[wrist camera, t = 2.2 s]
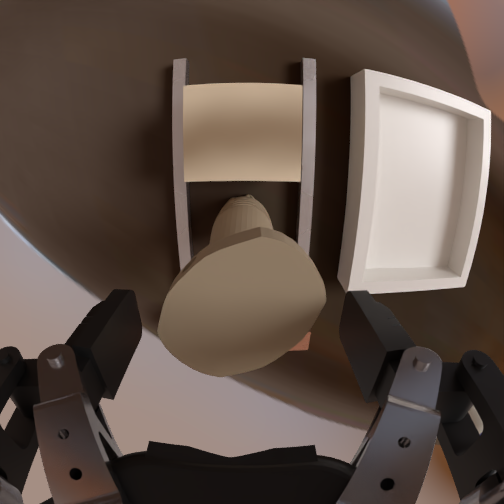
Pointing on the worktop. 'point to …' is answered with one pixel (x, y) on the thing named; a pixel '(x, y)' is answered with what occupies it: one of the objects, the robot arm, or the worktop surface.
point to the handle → (241, 295)
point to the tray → (412, 186)
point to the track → (306, 165)
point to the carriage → (242, 132)
